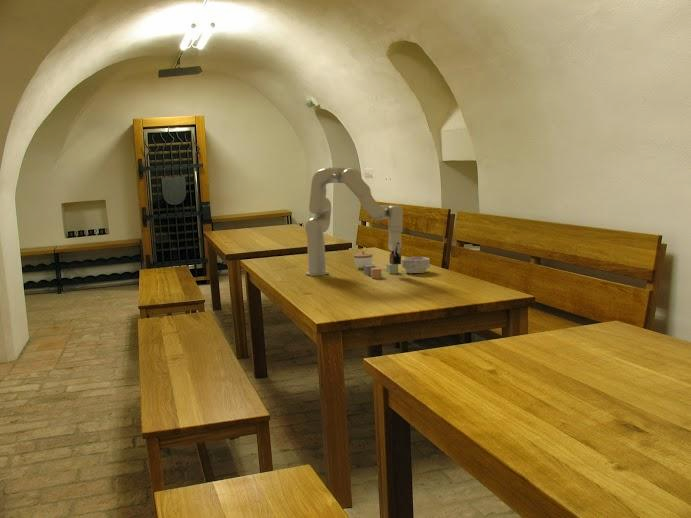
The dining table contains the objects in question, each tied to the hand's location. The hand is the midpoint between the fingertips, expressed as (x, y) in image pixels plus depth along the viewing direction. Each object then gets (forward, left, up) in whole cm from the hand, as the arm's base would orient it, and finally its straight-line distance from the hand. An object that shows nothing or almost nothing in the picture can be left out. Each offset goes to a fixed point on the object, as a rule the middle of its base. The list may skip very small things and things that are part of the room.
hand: (395, 262), depth 378 cm
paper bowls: (-7, +14, -8) cm, 17 cm away
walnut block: (0, 0, -1) cm, 1 cm away
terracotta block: (-1, -10, -8) cm, 13 cm away
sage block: (-12, +2, -8) cm, 14 cm away
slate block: (-12, -11, -8) cm, 18 cm away
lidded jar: (-34, -9, -8) cm, 36 cm away
